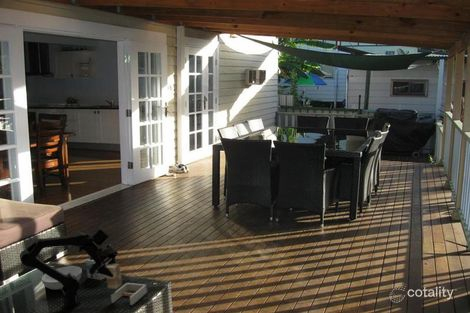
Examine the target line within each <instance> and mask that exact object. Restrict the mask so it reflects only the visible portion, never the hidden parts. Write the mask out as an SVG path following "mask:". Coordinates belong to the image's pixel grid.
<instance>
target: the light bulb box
mask: <svg viewBox="0 0 470 313" xmlns="http://www.w3.org/2000/svg"><path fill="white" fill-rule="evenodd" d="M90 258H91V257H89V258H87V259H85V265H86V274H87V278H88V279H93V280H98V281H103V280H104V279H107V278H106V275H104V274H100V273H96V272H97V270H96V272H95V273H94V274H93V275H91V274H90V273H89V269H90V268H91V267H92V265H93V264H95V263H96V262H95V261H94V260H93V259H92V260H90ZM107 264H108V263H107V262H106V266H107ZM102 279H103V280H102Z"/></svg>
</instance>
